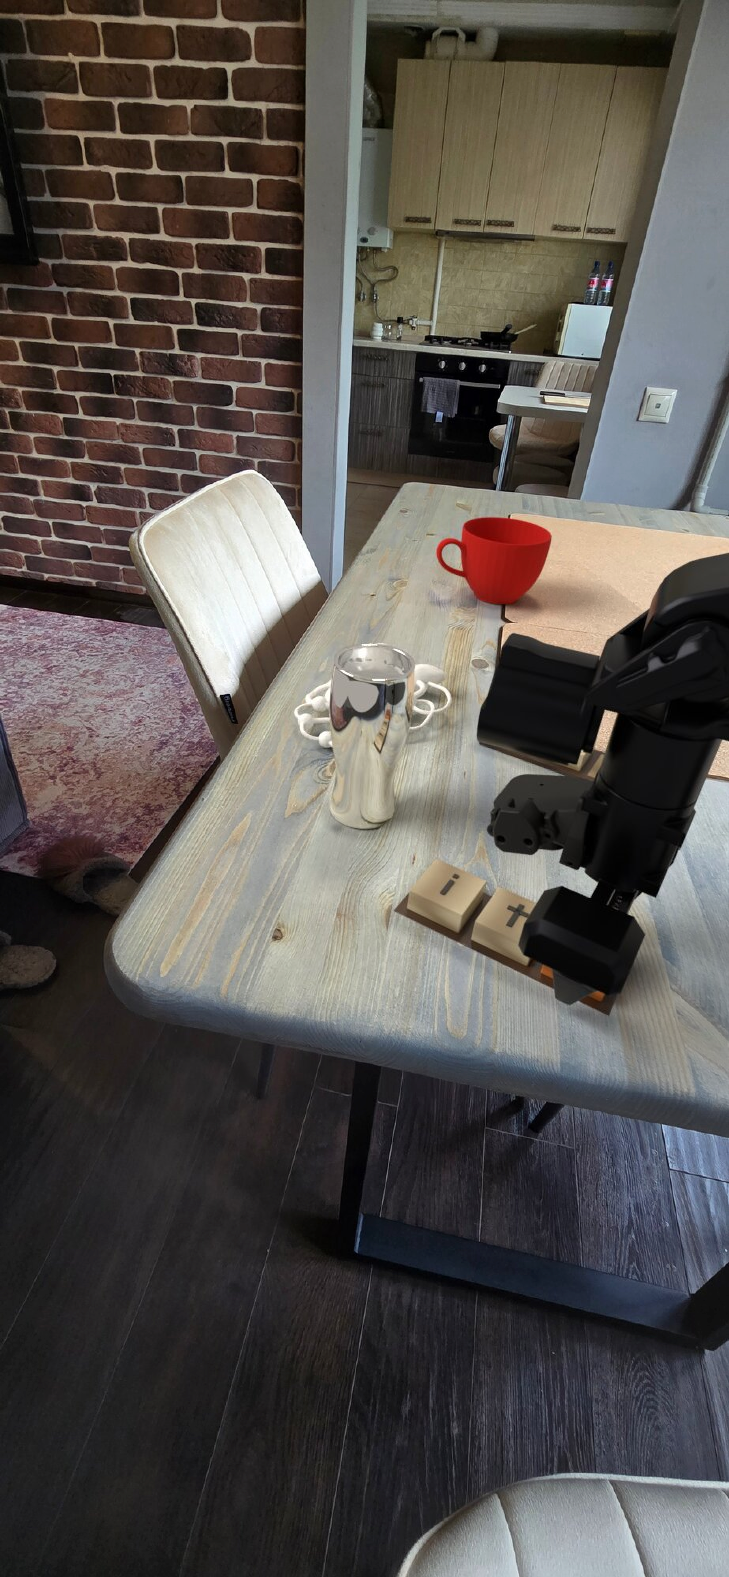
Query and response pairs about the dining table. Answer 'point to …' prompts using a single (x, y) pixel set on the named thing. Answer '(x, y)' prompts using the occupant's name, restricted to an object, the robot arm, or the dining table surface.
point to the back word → (582, 770)
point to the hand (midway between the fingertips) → (584, 957)
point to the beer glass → (368, 730)
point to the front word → (478, 919)
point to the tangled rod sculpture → (422, 681)
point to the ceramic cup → (499, 557)
